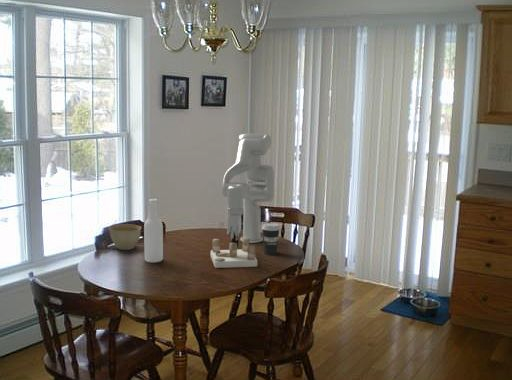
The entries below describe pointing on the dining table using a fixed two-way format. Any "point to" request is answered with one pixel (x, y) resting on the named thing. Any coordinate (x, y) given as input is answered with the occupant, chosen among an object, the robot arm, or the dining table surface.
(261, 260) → the dining table surface
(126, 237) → the planter bowl
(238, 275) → the dining table surface
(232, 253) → the swing leg
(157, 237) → the alcohol
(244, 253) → the footstool seat
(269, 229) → the coffee cup
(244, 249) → the fixed legs
